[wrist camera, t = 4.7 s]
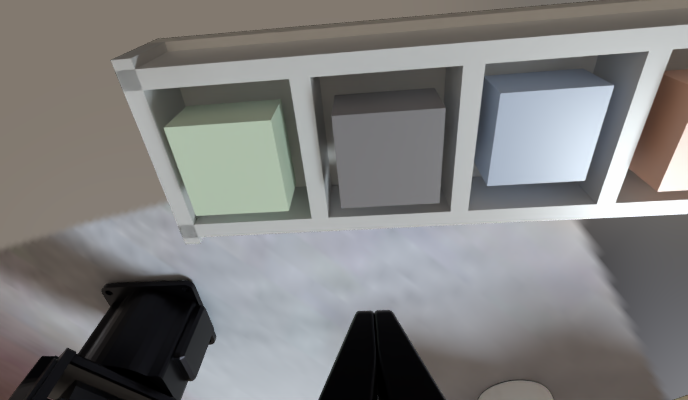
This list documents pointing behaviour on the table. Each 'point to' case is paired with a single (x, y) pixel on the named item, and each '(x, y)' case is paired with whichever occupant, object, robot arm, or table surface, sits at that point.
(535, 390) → the mug
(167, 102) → the keypad
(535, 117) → the key blue
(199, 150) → the key sage
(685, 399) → the coffeecake box
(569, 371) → the table surface
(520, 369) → the table surface
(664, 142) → the key terracotta
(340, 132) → the key charcoal
